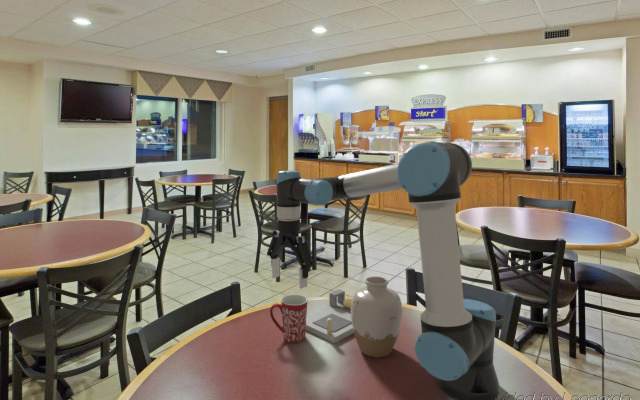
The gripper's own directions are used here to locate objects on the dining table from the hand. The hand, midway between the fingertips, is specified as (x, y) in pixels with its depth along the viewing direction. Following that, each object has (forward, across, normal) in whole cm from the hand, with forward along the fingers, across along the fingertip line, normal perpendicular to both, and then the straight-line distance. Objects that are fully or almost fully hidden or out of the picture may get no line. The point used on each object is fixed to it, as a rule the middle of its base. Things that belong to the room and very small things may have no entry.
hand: (289, 282), depth 126 cm
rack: (+19, -4, -19) cm, 27 cm away
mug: (+20, 0, 0) cm, 20 cm away
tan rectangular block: (+17, -5, -28) cm, 33 cm away
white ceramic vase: (+19, -26, -14) cm, 35 cm away
